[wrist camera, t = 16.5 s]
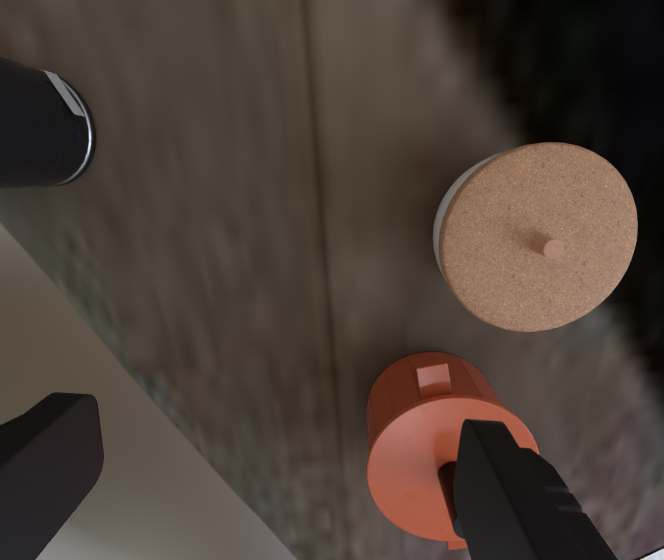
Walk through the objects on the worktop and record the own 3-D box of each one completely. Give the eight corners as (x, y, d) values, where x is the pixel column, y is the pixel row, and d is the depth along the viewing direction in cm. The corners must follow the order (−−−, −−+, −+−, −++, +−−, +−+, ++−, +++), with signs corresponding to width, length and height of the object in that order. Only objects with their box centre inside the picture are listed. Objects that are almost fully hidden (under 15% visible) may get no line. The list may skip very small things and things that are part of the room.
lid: (382, 540, 35) (389, 612, 29) (351, 406, 31) (352, 458, 26) (541, 517, 34) (580, 588, 28) (526, 375, 30) (567, 423, 24)
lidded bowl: (501, 319, 37) (562, 378, 27) (389, 245, 36) (407, 277, 25) (597, 203, 34) (709, 219, 24) (479, 117, 33) (543, 93, 22)
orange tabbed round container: (383, 490, 43) (392, 565, 35) (350, 338, 38) (351, 384, 30) (501, 472, 42) (539, 546, 34) (481, 314, 37) (519, 355, 29)
